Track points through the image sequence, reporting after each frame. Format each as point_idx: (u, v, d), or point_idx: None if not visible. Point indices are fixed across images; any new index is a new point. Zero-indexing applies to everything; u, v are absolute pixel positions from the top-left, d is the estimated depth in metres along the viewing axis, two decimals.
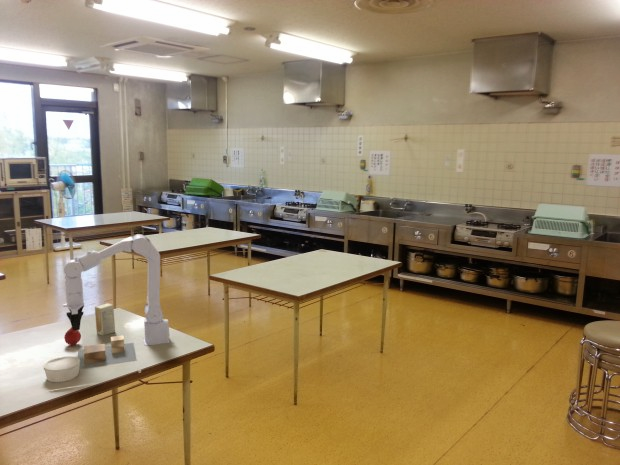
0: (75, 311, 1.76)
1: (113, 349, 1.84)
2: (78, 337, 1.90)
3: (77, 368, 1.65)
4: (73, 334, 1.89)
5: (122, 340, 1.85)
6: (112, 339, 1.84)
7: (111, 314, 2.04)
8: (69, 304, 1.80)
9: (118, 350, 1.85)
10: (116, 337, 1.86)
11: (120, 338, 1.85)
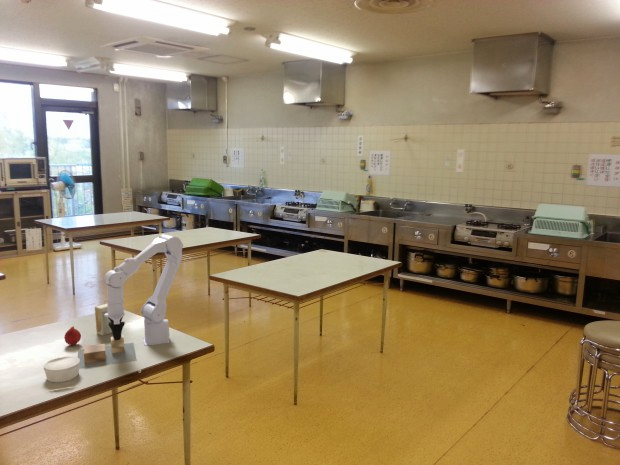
0: (117, 321, 1.78)
1: (113, 349, 1.84)
2: (78, 337, 1.90)
3: (77, 368, 1.65)
4: (73, 334, 1.89)
5: (122, 340, 1.85)
6: (112, 339, 1.84)
7: None
8: (110, 314, 1.82)
9: (118, 350, 1.85)
10: None
11: None
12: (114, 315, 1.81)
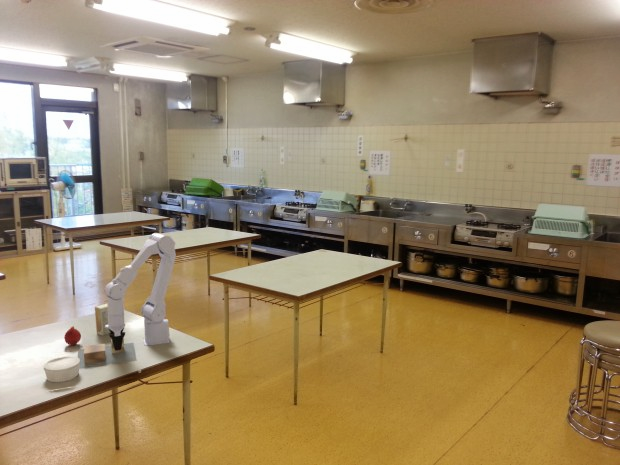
0: (118, 333, 1.79)
1: (113, 349, 1.84)
2: (78, 337, 1.90)
3: (77, 368, 1.65)
4: (73, 334, 1.89)
5: None
6: None
7: None
8: (111, 326, 1.82)
9: (118, 350, 1.85)
10: None
11: None
12: (115, 327, 1.82)
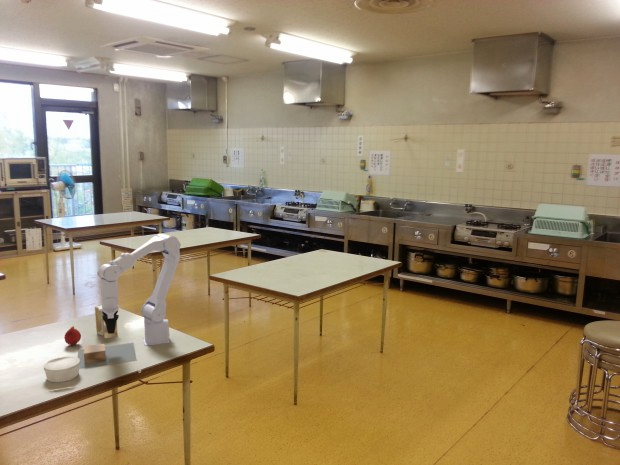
0: (111, 315, 1.76)
1: (106, 334, 1.81)
2: (78, 337, 1.90)
3: (77, 368, 1.65)
4: (73, 334, 1.89)
5: None
6: (105, 324, 1.81)
7: None
8: (104, 308, 1.79)
9: (111, 335, 1.82)
10: None
11: None
12: (108, 309, 1.79)
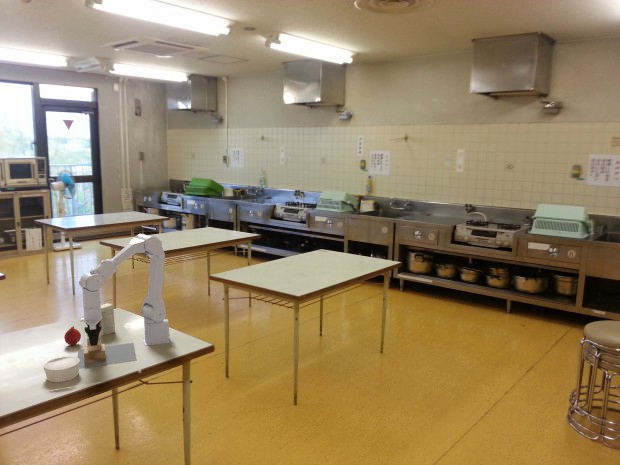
0: (93, 326, 1.70)
1: (89, 347, 1.76)
2: (78, 337, 1.90)
3: (77, 368, 1.65)
4: (73, 334, 1.89)
5: (99, 338, 1.76)
6: None
7: (111, 314, 2.04)
8: (87, 319, 1.74)
9: (94, 348, 1.76)
10: None
11: None
12: (90, 320, 1.74)
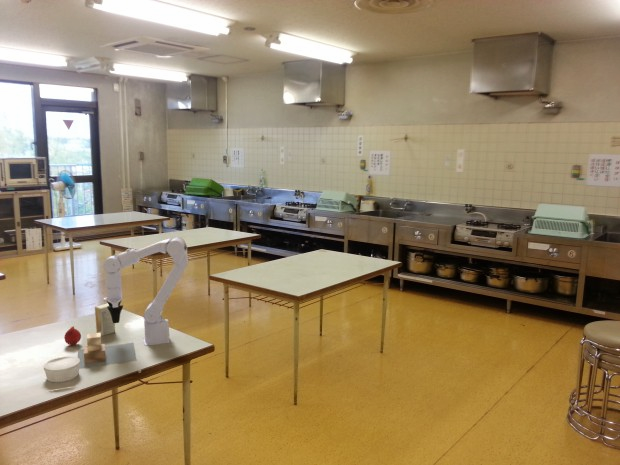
0: (116, 304, 1.85)
1: (89, 347, 1.76)
2: (78, 337, 1.90)
3: (77, 368, 1.65)
4: (73, 334, 1.89)
5: (99, 338, 1.76)
6: (88, 336, 1.76)
7: None
8: (109, 298, 1.89)
9: (94, 348, 1.76)
10: (93, 335, 1.78)
11: (97, 336, 1.77)
12: (113, 299, 1.89)
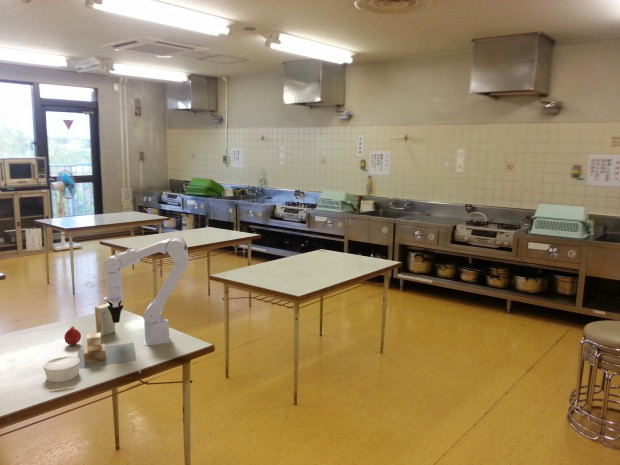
0: (116, 304, 1.86)
1: (89, 347, 1.76)
2: (78, 337, 1.90)
3: (77, 368, 1.65)
4: (73, 334, 1.89)
5: (99, 338, 1.76)
6: (88, 336, 1.76)
7: None
8: (109, 298, 1.89)
9: (94, 348, 1.76)
10: (93, 335, 1.78)
11: (97, 336, 1.77)
12: (113, 299, 1.89)
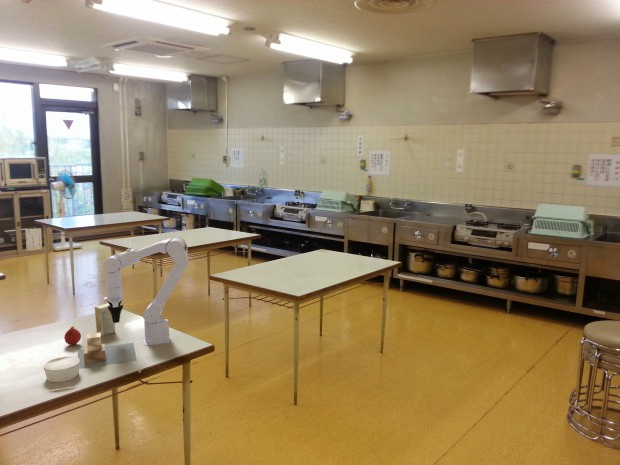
0: (116, 304, 1.86)
1: (89, 347, 1.76)
2: (78, 337, 1.90)
3: (77, 368, 1.65)
4: (73, 334, 1.89)
5: (99, 338, 1.76)
6: (88, 336, 1.76)
7: None
8: (109, 298, 1.89)
9: (94, 348, 1.76)
10: (93, 335, 1.78)
11: (97, 336, 1.77)
12: (113, 299, 1.89)
